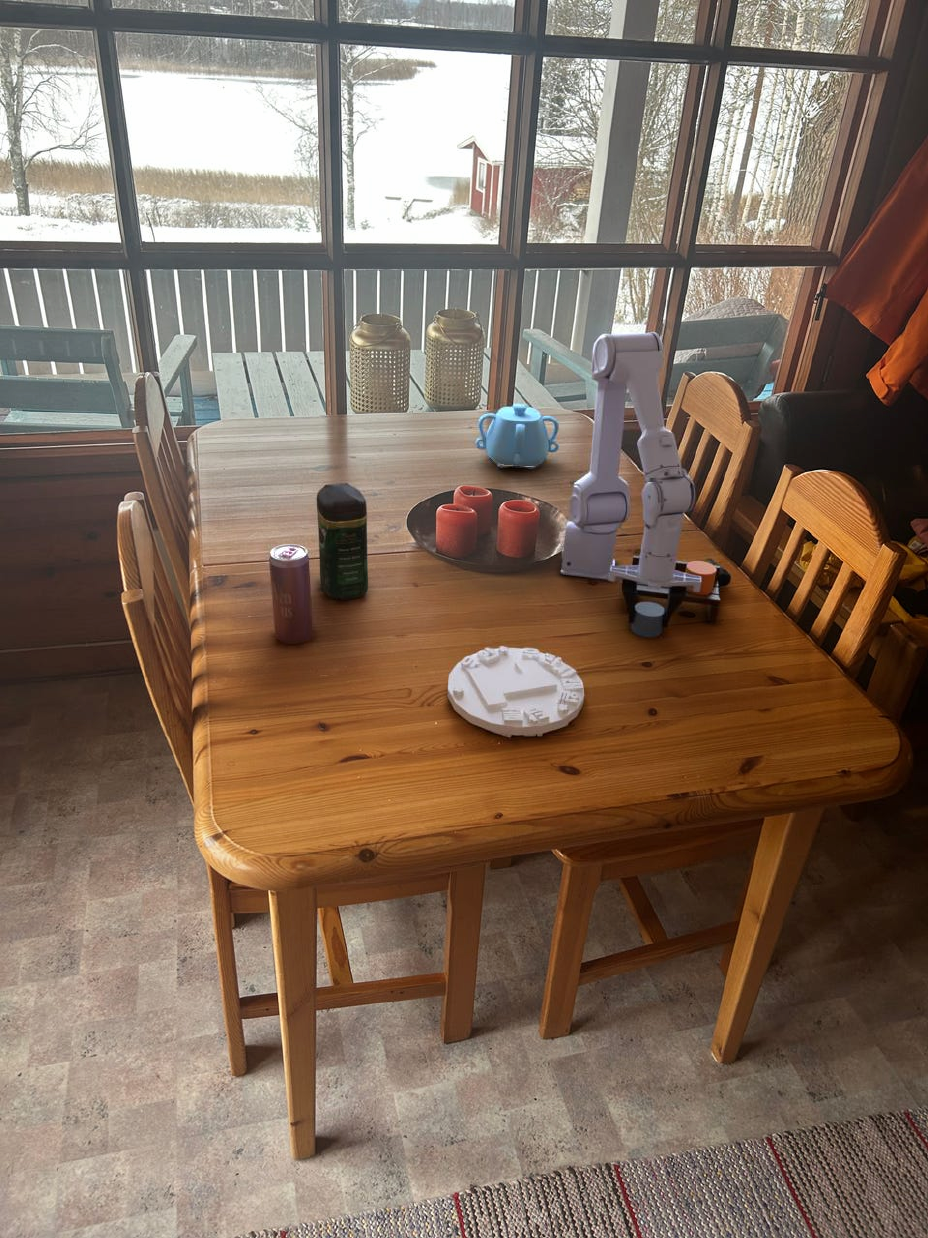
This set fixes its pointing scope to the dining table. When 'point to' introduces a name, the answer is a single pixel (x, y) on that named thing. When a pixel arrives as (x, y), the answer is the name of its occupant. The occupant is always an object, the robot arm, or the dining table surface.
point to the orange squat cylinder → (702, 576)
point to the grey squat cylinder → (648, 619)
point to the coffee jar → (342, 541)
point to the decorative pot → (517, 436)
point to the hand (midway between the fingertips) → (647, 622)
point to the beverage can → (291, 593)
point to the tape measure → (723, 574)
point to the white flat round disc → (515, 691)
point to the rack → (709, 599)
